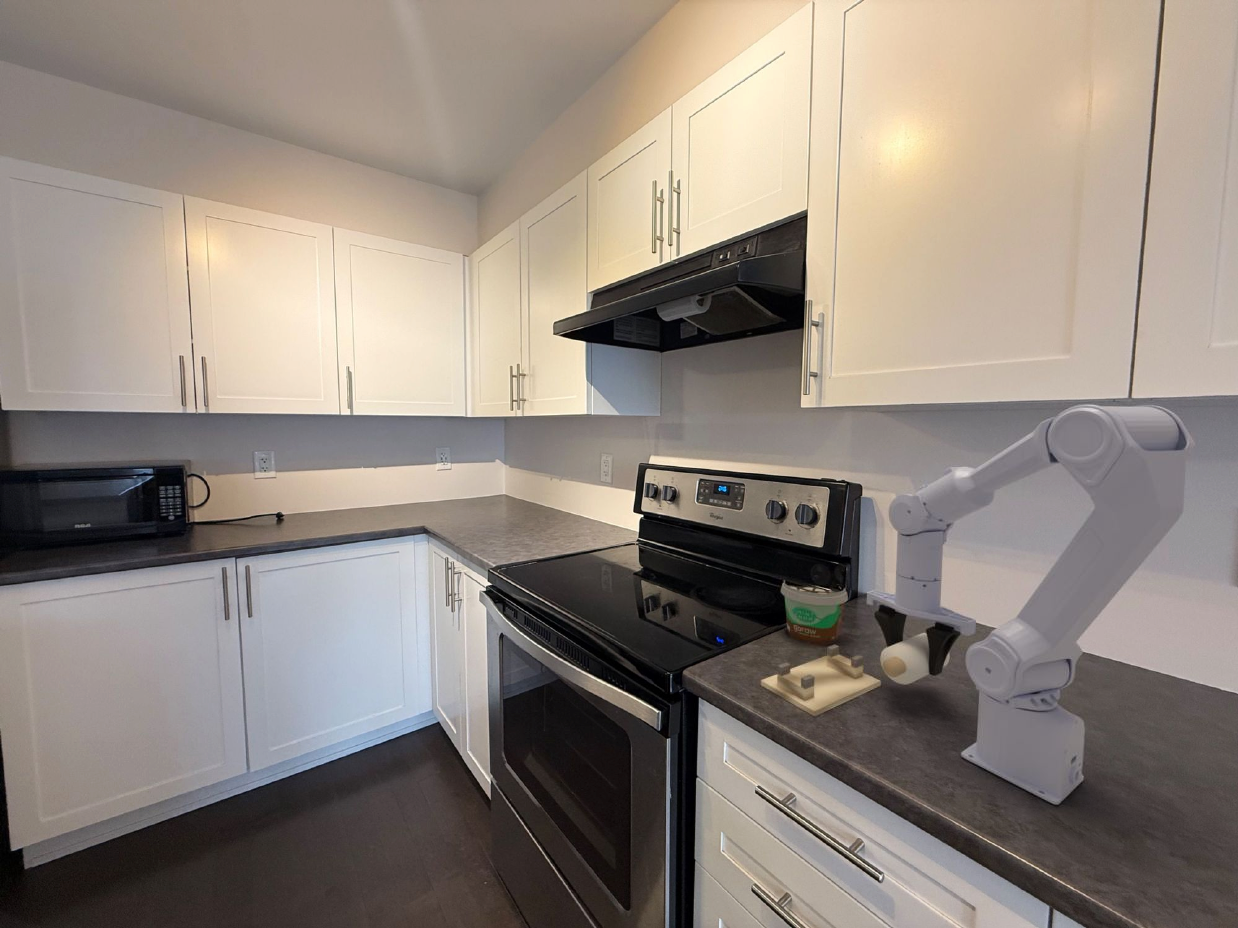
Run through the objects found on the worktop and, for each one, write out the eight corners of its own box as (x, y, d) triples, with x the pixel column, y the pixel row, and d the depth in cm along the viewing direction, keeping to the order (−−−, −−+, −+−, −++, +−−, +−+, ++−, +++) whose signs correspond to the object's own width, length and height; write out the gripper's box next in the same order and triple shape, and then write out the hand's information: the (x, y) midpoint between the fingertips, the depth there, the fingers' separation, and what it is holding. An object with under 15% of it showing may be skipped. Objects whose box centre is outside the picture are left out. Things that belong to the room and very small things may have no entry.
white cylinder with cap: (954, 670, 75) (956, 637, 74) (908, 694, 68) (910, 657, 68) (919, 657, 79) (920, 625, 79) (873, 678, 73) (874, 643, 72)
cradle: (880, 685, 78) (881, 661, 78) (814, 716, 70) (815, 689, 70) (825, 660, 87) (826, 637, 87) (760, 684, 79) (761, 660, 78)
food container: (774, 639, 96) (775, 588, 95) (780, 627, 101) (781, 579, 100) (844, 652, 90) (846, 598, 89) (846, 639, 95) (848, 588, 95)
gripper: (988, 584, 68) (983, 678, 69) (885, 560, 81) (883, 640, 82) (962, 593, 65) (958, 693, 66) (859, 566, 77) (857, 651, 78)
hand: (914, 665), depth 74 cm, fingers closed on white cylinder with cap, 5 cm apart
